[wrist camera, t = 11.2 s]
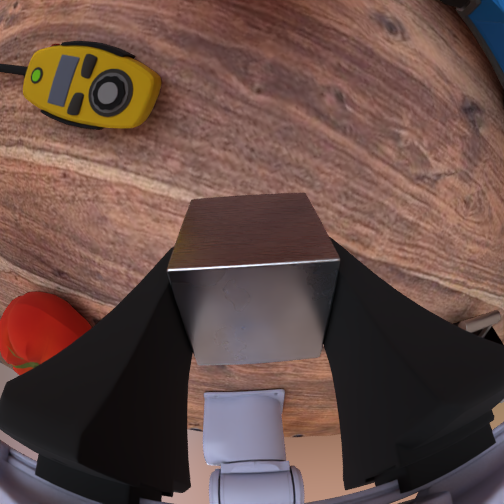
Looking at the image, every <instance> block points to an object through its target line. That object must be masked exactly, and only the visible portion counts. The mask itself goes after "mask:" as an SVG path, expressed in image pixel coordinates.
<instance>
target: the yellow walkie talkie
mask: <svg viewBox="0 0 504 504" xmlns="http://www.w3.org/2000/svg"><path fill="white" fill-rule="evenodd" d="M134 58H135V56H134V55H132V54H130V53H128V52H126V51H124V50H122V49H119V48H116V47H113V46H110V45H106V44H103V43H97V42H88V41H71V42H63V43H62V44H61V45H60V44H53V45H52V46H51V47H48V48H44V49H41V50H39V51H37V52H35V54H34V55H33V56H32V58H31V61H30V63H29V65H28V67H24V66H16V65H7V64H0V72H4V73H12V74H18V75H24V84H23V95H24V97H25V98H26V99H27V100H28V101H30V102H31V103H32V104H34V105H35V106H37V107H38V108H40V109H42V110H41V112H42V113H43V114H45V115H46V116H48V117H50V118H52V119H54V120H57V121H59V122H62V123H64V124H67V125H71V126H75V127H80V128H86V129H96V130H100V129H103V128H105V127H106V128H133V127H137V126H139V125H141V124H142V123H143V122H145V121H146V119H147V118H148V116H149V114H150V113H151V111H152V109H153V107H154V104H155V102H156V100H157V97H158V95H159V91H160V87H161V78H160V76H159V75H158V74H157V73H156V72H154V71H153V70H152V69H150V68H149V67H147V66H146V65H144V64H142V63H141V62H139V61H137V60H135V59H134Z"/></svg>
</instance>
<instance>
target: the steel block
mask: <svg viewBox="0 0 504 504" xmlns="http://www.w3.org/2000/svg"><path fill="white" fill-rule="evenodd" d="M339 264H340V257H339V255H338V253H337V251H336V249H335V247H334V246H333V244H332V242H331V240H330V238H329V236H328V234H327V232H326V230H325V228H324V226H323V224H322V222H321V221H320V219H319V217H318V215H317V213H316V211H315V209H314V208H313V206H312V204H311V202H310V200H309V199H308V197H307V195H306V193H280V194H260V195H243V196H228V197H215V198H202V199H192V200H191V202H190V205H189V207H188V210H187V213H186V215H185V218H184V221H183V224H182V226H181V229H180V232H179V235H178V238H177V241H176V243H175V246H174V249H173V252H172V255H171V258H170V261H169V264H168V267H167V273H168V277H169V280H170V284H171V287H172V290H173V294H174V297H175V300H176V303H177V306H178V310H179V313H180V316H181V319H182V322H183V325H184V328H185V331H186V334H187V336H188V339H189V342H190V345H191V348H192V350H193V353H194V356H195V359H196V361H197V364H198V365H233V364H254V363H269V362H281V361H292V360H301V359H310V358H318V357H320V354H321V350H322V346H323V342H324V337H325V333H326V329H327V325H328V320H329V316H330V311H331V306H332V302H333V297H334V292H335V286H336V281H337V276H338V270H339Z"/></svg>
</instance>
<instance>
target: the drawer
mask: <svg viewBox="0 0 504 504" xmlns="http://www.w3.org/2000/svg"><path fill="white" fill-rule="evenodd" d="M499 321H500V313H499V311H498V310H494V311H491V312H489V313H486V314H482V315H479V316H476V317H473V318H470V319H467V320H463V321H460V322H457V323H453V324H454V325H456V326H458V327H460V328H462V329H464V330H466V331H468V332H471V333H473V334H475V335H477V336H479V337H482V338H484V339H487V340H490V341H493V342H496V343H498V344H501V345H503V343H502V342H501V340H500V338H499V337H498V335H497V333H496V332H495V330H494V328H493V327H492V325H493V324H496V323H498V322H499Z"/></svg>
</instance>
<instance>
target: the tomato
mask: <svg viewBox="0 0 504 504" xmlns="http://www.w3.org/2000/svg"><path fill="white" fill-rule="evenodd" d="M91 328H92V327H91V326H90V324H89V323H88V321H87V320H86V319H85V318H84V317H82V316H81V315H80V314H79V313H78V312H77V311H76V310H75V309H74V308H73V307H72V306H71V305H70V304H69V303H68V302H67V301H65V300H63V299H61V298H60V297H58V296H56V295H54V294H50V293H45V292H28V293H26V294H25V295H23V296H18V297H17V298H15V299H14V300H12V302H11V303H10V304H9V305H8V307H7V308H6V310H5V311H4V313H3V315H2V318H1V320H0V351H1V355H2V357H3V358H4V359H5V360H6V362H7V363H8V364H11V365H12V366H13V369H14V371H15V372H16V373H18V374H19V375H22V374H24V373H26V372H27V371H29V370H31V369H33V368H35V367H37V366H38V365H40V364H42V363H43V362H45V361H46V360H48V359H50V358H51V357H53V356H54V355H56V354H57V353H59V352H60V351H62V350H63V349H65V348H66V347H68V346H69V345H70V344H72V343H73V342H74V341H75V340H77V339H78V338H79V337H81V336H82V335H83V334H85V333H86V332H87V331H89V330H90V329H91Z"/></svg>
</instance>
